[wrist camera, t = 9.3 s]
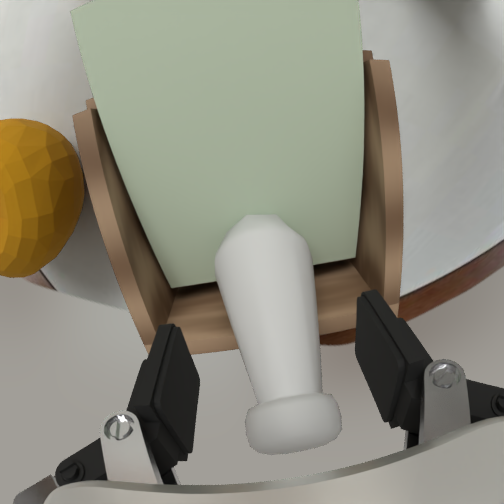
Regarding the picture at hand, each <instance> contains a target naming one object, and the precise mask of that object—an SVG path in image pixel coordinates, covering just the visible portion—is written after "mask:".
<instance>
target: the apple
mask: <svg viewBox="0 0 504 504" xmlns="http://www.w3.org/2000/svg"><path fill="white" fill-rule="evenodd" d="M84 194H85V193H84V181H83V173H82V170H81V166H80V163H79V159H78V156H77V154H76V152H75V150H74V148H73V146H72V144H71V143H70V142H69V141H68V140H67V139H66V138H65V137H64V136H63V135H62V134H61V133H59V132H58V131H56V130H55V129H53V128H51V127H50V126H48V125H46V124H43V123H40V122H38V121H32V120H27V119H5V120H0V275H1V276H6V277H10V278H11V277H13V278H14V277H26V276H29V275H32V274H35V273H36V272H37V271H38V270H40V269H41V268H42V267H44V266H45V265H46V264H48V263H49V262H50V261H52V260H53V259H54V258H56V257H57V255H58V254H59V252H60V251H61V250H62V248H63V247H64V245H65V244H66V242H67V241H68V239H69V238H70V236H71V235H72V233H73V231H74V229H75V226H76V224H77V221H78V219H79V216H80V213H81V210H82V206H83V200H84Z"/></svg>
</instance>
